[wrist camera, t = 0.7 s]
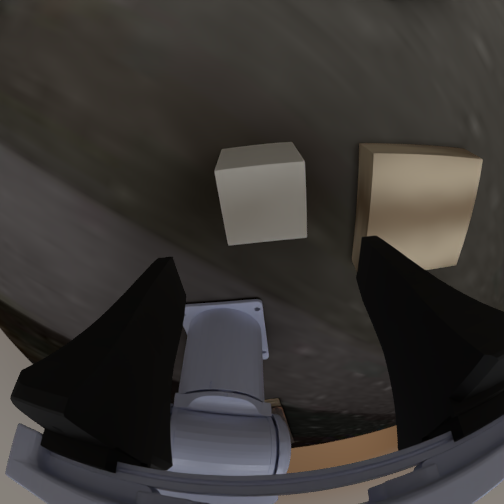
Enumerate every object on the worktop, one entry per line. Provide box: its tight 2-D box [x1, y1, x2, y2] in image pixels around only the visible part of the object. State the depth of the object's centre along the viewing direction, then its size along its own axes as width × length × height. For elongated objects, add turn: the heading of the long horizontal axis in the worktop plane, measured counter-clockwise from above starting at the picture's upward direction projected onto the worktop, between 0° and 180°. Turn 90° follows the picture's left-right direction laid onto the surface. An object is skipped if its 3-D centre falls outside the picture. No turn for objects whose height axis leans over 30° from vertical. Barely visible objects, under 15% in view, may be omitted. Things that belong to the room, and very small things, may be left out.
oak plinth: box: [352, 143, 483, 271], centre depth 19 cm, size 10×10×3 cm
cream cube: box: [214, 142, 307, 246], centre depth 17 cm, size 5×5×5 cm
